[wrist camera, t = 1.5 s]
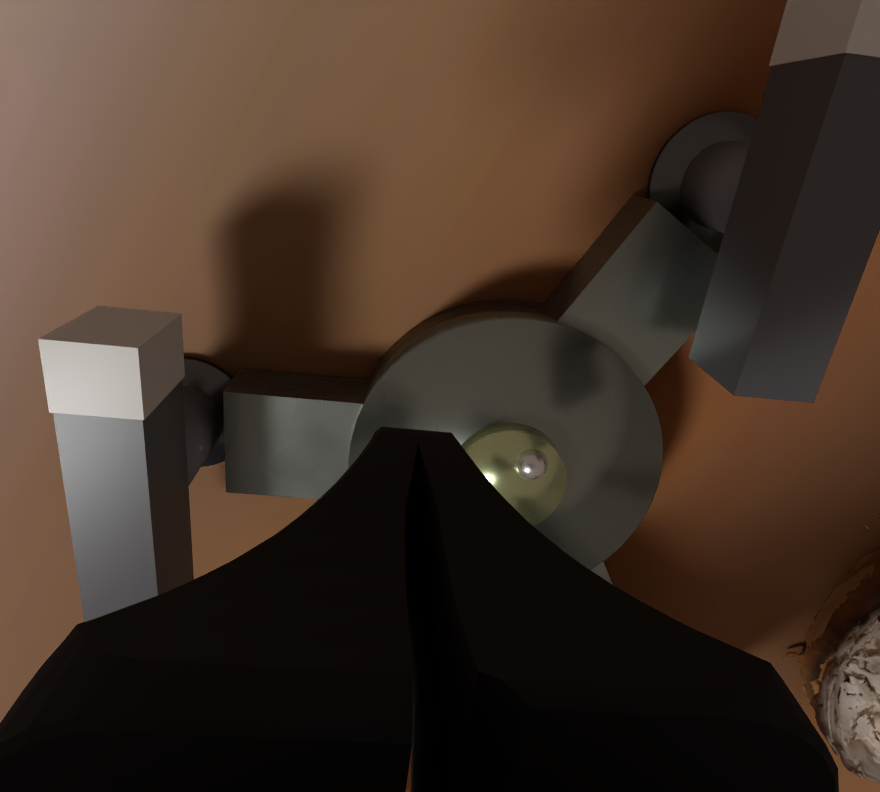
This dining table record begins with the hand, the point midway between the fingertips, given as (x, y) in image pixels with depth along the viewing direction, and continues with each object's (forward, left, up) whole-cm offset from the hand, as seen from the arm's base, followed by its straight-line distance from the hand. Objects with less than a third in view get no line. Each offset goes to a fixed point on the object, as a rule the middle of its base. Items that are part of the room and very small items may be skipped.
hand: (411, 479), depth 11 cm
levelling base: (-3, -1, -8) cm, 9 cm away
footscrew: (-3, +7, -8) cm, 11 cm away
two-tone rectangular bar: (+5, -8, -8) cm, 12 cm away
